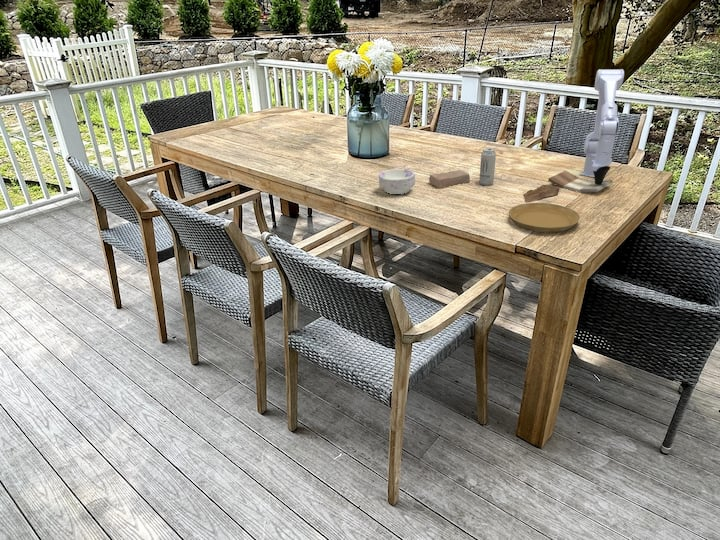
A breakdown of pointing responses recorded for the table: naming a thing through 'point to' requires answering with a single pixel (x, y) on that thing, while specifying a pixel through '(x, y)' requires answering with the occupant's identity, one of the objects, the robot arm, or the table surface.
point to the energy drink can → (487, 166)
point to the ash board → (578, 184)
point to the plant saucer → (544, 217)
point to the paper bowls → (397, 180)
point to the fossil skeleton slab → (541, 192)
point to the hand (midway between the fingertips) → (598, 184)
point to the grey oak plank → (596, 186)
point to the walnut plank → (562, 178)
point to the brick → (449, 178)
